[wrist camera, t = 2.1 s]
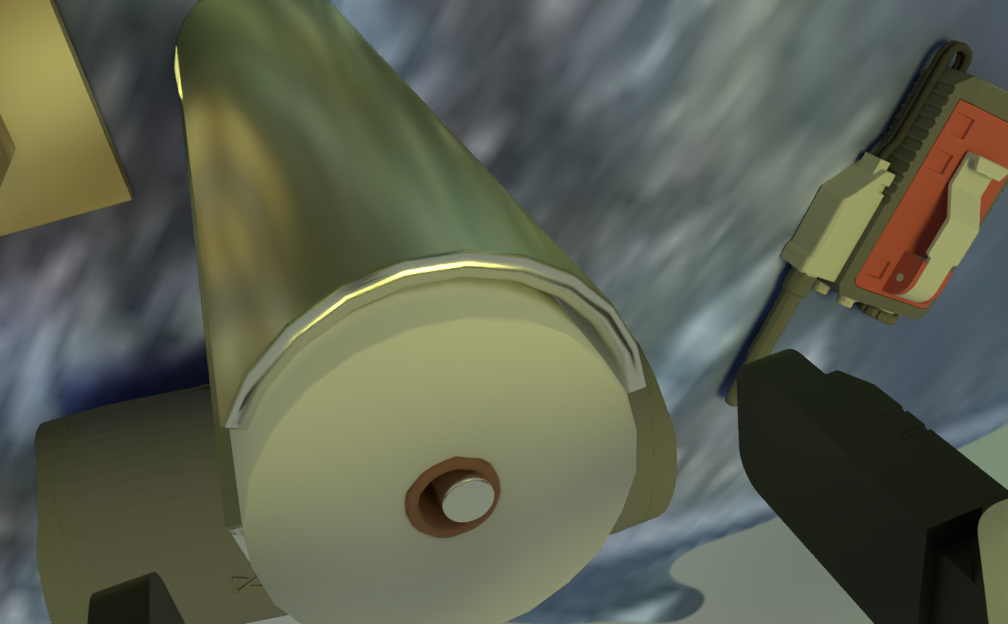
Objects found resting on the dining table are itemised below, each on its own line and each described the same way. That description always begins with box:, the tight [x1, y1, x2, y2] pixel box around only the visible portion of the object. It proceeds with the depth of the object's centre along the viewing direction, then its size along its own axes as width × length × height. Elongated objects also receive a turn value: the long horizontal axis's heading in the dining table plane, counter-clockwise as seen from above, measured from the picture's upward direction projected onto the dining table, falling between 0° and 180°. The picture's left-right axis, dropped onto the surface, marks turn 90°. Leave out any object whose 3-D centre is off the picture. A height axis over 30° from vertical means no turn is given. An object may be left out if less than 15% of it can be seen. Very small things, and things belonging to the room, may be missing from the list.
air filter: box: [174, 0, 648, 624], centre depth 23 cm, size 6×6×25 cm
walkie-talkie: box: [725, 41, 1008, 406], centre depth 45 cm, size 9×4×20 cm
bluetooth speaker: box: [35, 341, 677, 624], centre depth 37 cm, size 23×9×10 cm, turn 89°
